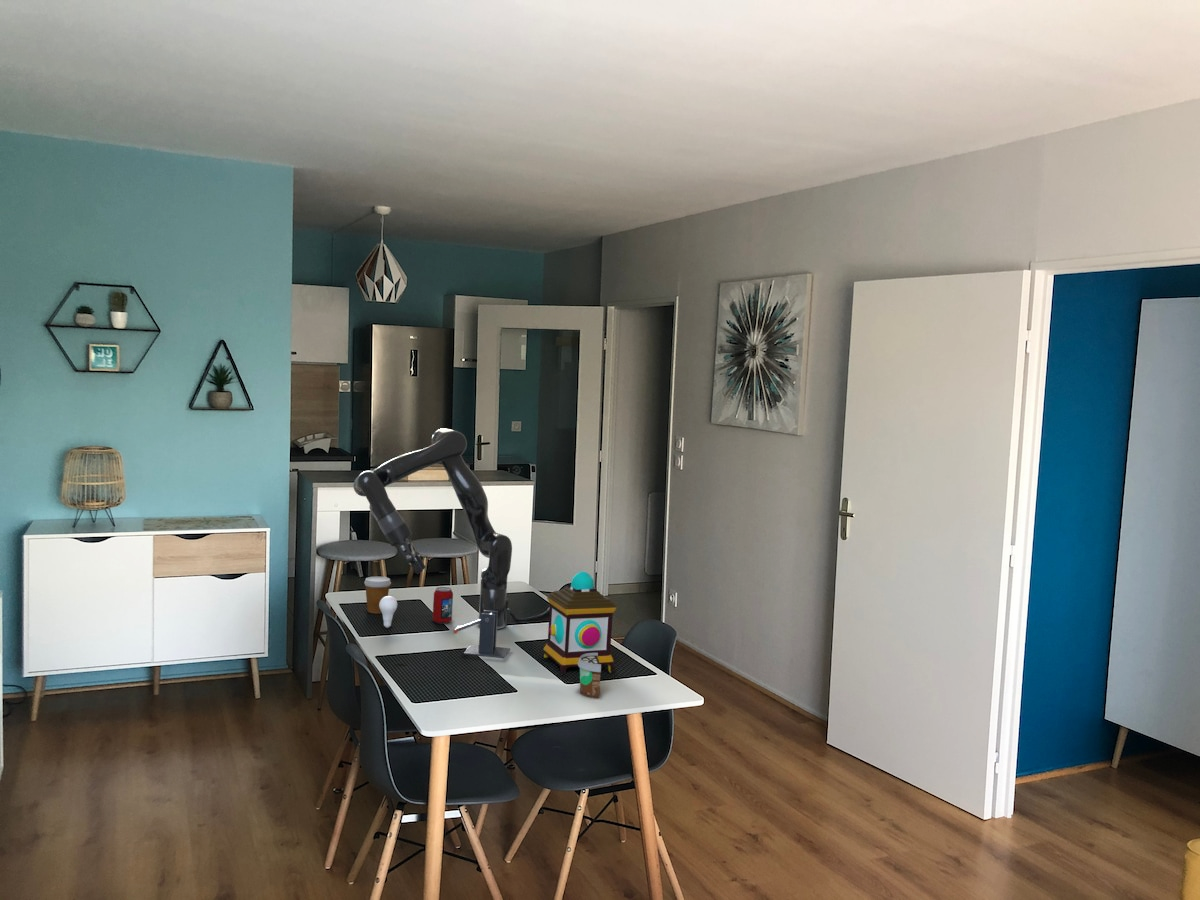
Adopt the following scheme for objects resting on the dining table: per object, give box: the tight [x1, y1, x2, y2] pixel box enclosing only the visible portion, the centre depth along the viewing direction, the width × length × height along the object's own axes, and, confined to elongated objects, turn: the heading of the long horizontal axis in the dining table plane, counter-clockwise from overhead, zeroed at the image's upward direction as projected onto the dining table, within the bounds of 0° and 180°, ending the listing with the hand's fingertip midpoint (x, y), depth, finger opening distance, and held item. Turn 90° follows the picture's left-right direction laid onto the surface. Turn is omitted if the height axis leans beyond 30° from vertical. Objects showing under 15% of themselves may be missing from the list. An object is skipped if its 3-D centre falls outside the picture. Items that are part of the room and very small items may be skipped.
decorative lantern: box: [542, 570, 617, 674], centre depth 292 cm, size 20×20×30 cm
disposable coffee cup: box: [363, 576, 392, 614], centre depth 343 cm, size 10×10×12 cm
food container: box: [577, 653, 602, 699], centre depth 269 cm, size 12×6×10 cm, turn 5°
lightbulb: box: [379, 595, 398, 629], centre depth 322 cm, size 6×6×11 cm
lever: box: [452, 613, 493, 635], centre depth 298 cm, size 13×6×2 cm, turn 84°
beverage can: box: [432, 586, 454, 624], centre depth 334 cm, size 7×7×12 cm
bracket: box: [462, 610, 511, 659], centre depth 298 cm, size 13×10×14 cm
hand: (421, 571), depth 299 cm, fingers open, 8 cm apart
